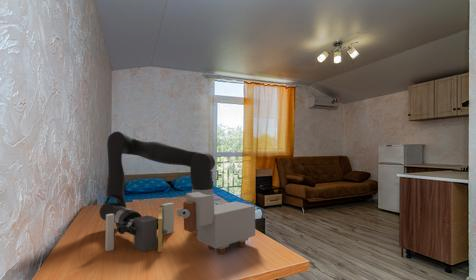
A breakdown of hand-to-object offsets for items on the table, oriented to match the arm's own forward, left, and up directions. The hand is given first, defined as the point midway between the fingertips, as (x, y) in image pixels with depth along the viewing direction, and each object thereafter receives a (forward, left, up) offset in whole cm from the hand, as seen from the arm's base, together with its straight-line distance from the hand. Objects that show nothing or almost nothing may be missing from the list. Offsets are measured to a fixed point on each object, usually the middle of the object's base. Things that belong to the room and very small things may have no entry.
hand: (146, 229), depth 84 cm
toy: (-24, +4, -7) cm, 25 cm away
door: (-5, -5, -7) cm, 9 cm away
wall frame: (+3, -10, -7) cm, 12 cm away
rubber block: (+1, -2, -7) cm, 7 cm away
